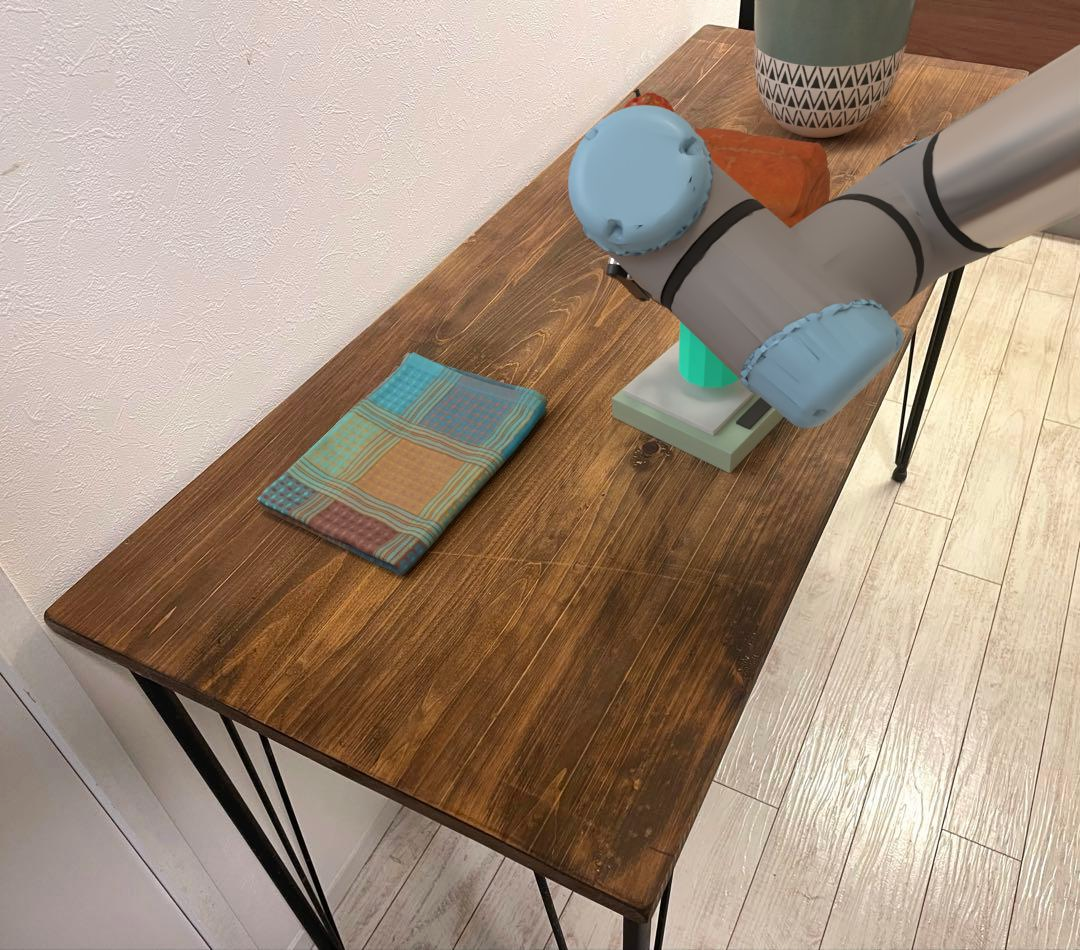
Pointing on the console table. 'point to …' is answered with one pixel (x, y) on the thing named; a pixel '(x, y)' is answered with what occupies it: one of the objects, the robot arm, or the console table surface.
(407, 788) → the console table surface
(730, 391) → the scale
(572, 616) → the console table surface
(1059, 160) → the robot arm
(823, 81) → the planter
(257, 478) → the console table surface
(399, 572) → the dish towel
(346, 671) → the console table surface
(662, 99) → the red round fruit
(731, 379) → the candle
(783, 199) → the bread
